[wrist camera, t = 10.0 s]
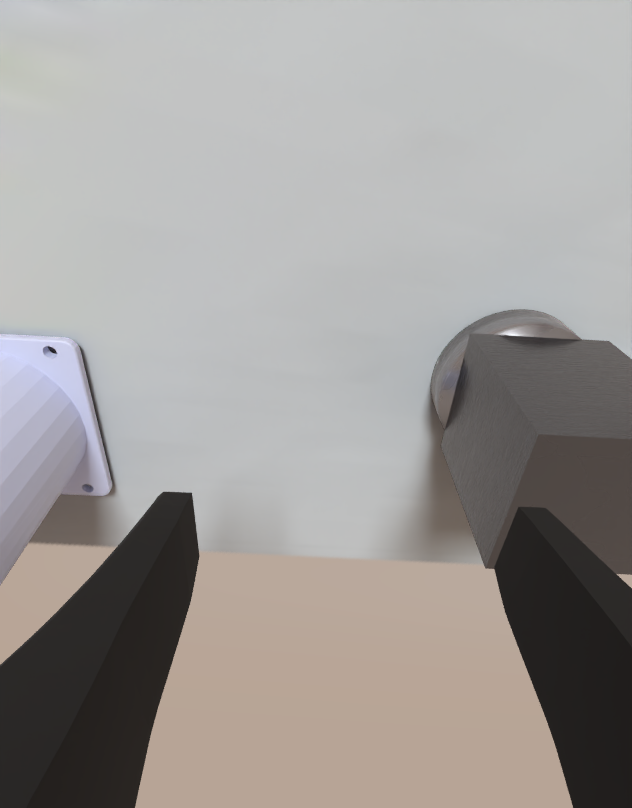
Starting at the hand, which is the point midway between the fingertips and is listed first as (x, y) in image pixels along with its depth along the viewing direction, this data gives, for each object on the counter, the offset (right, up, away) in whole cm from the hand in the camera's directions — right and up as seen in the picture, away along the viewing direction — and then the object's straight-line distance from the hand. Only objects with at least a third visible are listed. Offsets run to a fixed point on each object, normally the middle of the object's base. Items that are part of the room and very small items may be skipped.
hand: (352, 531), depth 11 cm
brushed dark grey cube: (+7, +3, +7) cm, 11 cm away
